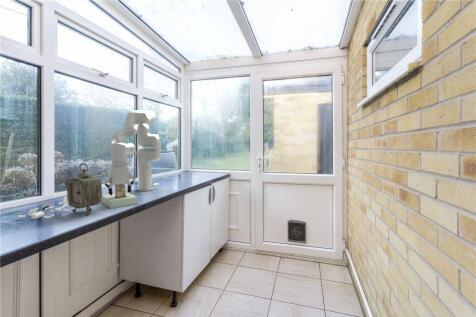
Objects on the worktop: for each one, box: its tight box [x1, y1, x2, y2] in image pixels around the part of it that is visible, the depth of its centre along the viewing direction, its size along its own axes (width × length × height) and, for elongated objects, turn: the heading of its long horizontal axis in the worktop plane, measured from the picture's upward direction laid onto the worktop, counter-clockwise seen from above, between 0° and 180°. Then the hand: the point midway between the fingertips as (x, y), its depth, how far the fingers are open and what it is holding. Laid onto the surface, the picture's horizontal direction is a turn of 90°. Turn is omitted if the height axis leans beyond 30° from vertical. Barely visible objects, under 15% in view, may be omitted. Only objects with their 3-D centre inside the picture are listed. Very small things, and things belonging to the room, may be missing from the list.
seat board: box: [100, 191, 138, 209], centre depth 134 cm, size 14×20×4 cm
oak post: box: [114, 184, 127, 199], centre depth 132 cm, size 4×4×11 cm
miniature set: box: [16, 195, 75, 220], centre depth 119 cm, size 6×35×12 cm
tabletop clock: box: [66, 162, 103, 216], centre depth 114 cm, size 14×9×25 cm, turn 64°
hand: (120, 193), depth 132 cm, fingers open, 9 cm apart
